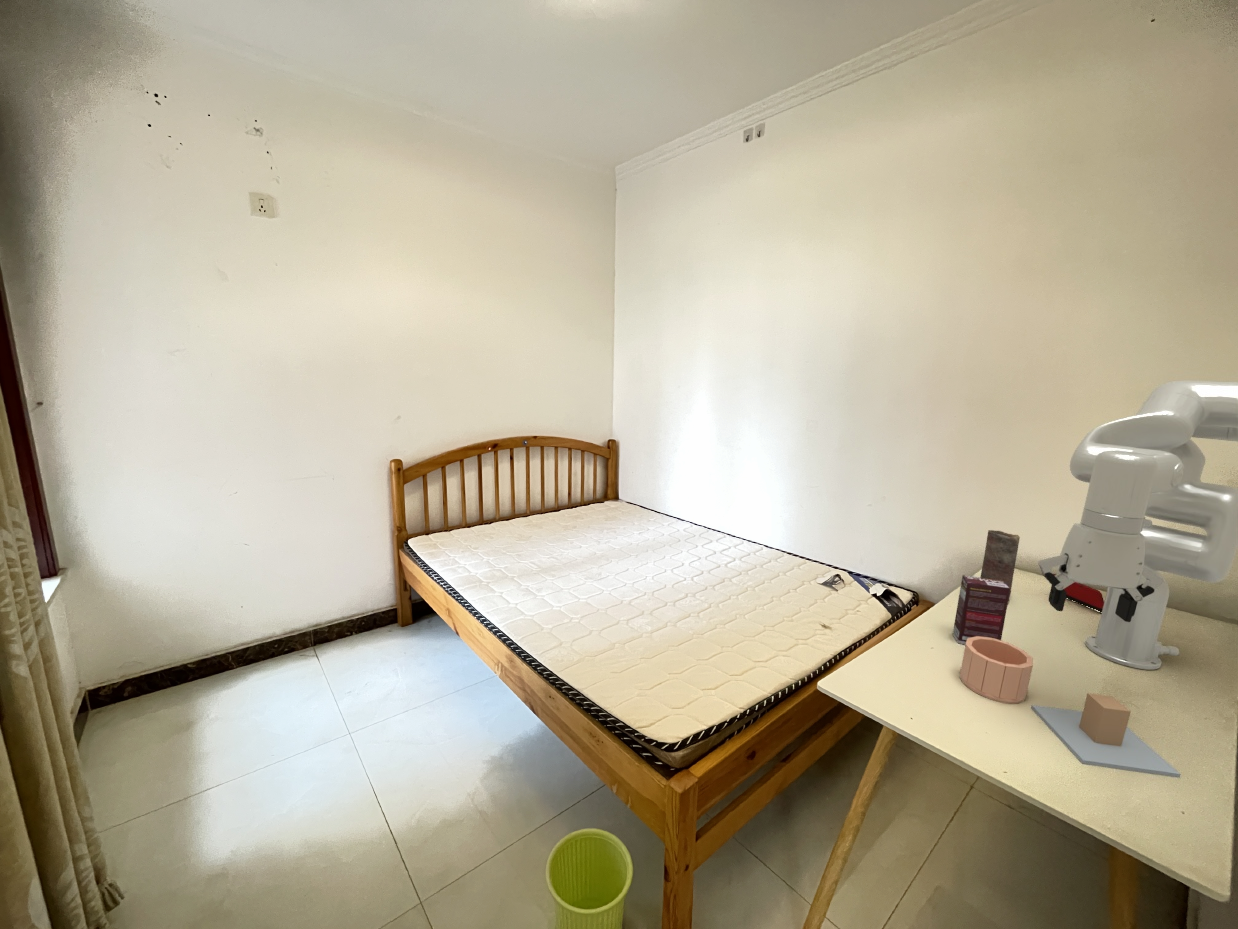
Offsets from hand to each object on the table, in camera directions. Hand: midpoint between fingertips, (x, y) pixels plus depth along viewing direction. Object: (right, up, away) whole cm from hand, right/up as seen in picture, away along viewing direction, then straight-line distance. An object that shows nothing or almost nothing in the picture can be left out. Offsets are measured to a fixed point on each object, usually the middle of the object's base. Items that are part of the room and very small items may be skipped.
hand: (1088, 613), depth 90 cm
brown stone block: (+23, -12, +54) cm, 60 cm away
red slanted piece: (+48, -13, +52) cm, 72 cm away
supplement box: (+1, -16, +31) cm, 35 cm away
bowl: (-7, -19, +14) cm, 25 cm away
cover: (+2, -23, 0) cm, 23 cm away
